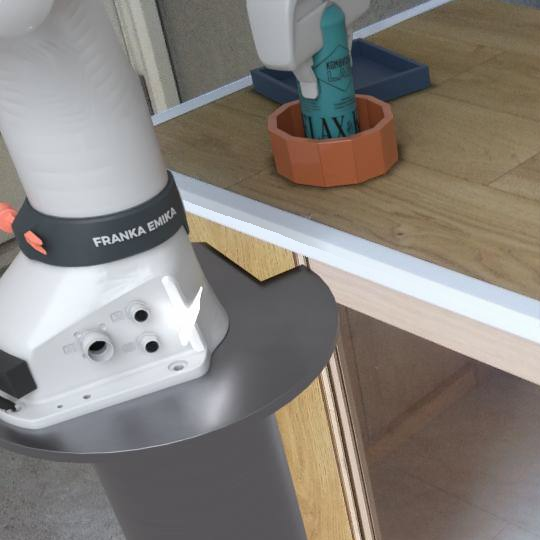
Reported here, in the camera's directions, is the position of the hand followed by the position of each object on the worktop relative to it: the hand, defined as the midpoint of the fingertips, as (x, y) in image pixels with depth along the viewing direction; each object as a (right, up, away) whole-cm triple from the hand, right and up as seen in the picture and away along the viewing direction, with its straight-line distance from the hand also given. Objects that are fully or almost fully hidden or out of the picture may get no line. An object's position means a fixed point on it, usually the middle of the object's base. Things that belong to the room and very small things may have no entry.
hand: (328, 82), depth 110 cm
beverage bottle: (0, -7, +6) cm, 9 cm away
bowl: (0, -6, +6) cm, 9 cm away
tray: (-3, +9, +21) cm, 23 cm away
